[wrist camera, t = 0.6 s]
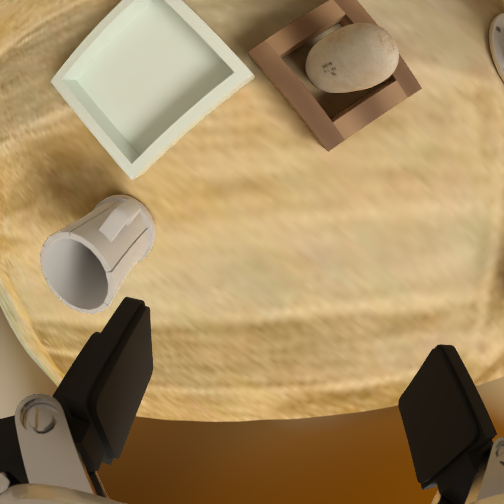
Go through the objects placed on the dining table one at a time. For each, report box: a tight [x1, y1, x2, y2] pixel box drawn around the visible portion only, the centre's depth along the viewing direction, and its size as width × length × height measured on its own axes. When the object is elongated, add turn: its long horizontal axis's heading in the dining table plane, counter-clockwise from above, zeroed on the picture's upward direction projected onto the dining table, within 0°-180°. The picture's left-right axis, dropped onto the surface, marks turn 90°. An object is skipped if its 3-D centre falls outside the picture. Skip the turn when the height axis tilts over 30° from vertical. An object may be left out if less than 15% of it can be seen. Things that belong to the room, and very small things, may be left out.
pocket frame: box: [248, 0, 422, 151], centre depth 26 cm, size 12×12×4 cm
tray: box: [51, 0, 255, 180], centre depth 27 cm, size 16×16×4 cm
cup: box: [40, 194, 156, 314], centre depth 31 cm, size 10×9×12 cm
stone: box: [305, 23, 399, 93], centre depth 22 cm, size 6×6×12 cm
